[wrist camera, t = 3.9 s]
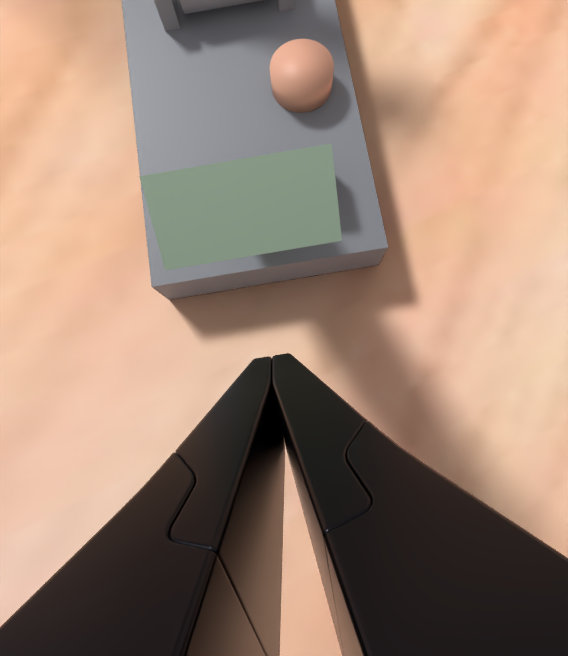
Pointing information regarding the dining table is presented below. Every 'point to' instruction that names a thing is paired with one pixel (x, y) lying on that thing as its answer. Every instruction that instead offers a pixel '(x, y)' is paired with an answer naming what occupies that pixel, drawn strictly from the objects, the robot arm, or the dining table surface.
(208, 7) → the ivory lever
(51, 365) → the dining table surface
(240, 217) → the green lever
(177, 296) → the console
